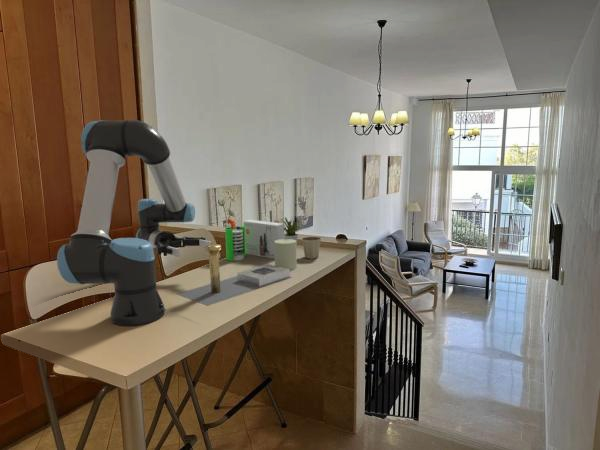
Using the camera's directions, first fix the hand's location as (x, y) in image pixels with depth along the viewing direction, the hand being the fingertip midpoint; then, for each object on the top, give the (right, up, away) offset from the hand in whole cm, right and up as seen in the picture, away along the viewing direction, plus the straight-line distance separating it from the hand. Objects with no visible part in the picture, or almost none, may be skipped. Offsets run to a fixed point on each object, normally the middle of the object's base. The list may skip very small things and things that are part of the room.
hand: (195, 249), depth 157 cm
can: (+32, -10, +24) cm, 41 cm away
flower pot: (+43, -6, +42) cm, 60 cm away
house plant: (+32, -3, +64) cm, 72 cm away
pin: (+8, -14, -5) cm, 18 cm away
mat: (+15, -14, +2) cm, 20 cm away
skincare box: (+21, -6, +47) cm, 52 cm away
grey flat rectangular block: (+24, -12, +9) cm, 28 cm away
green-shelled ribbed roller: (+8, -7, +43) cm, 44 cm away
